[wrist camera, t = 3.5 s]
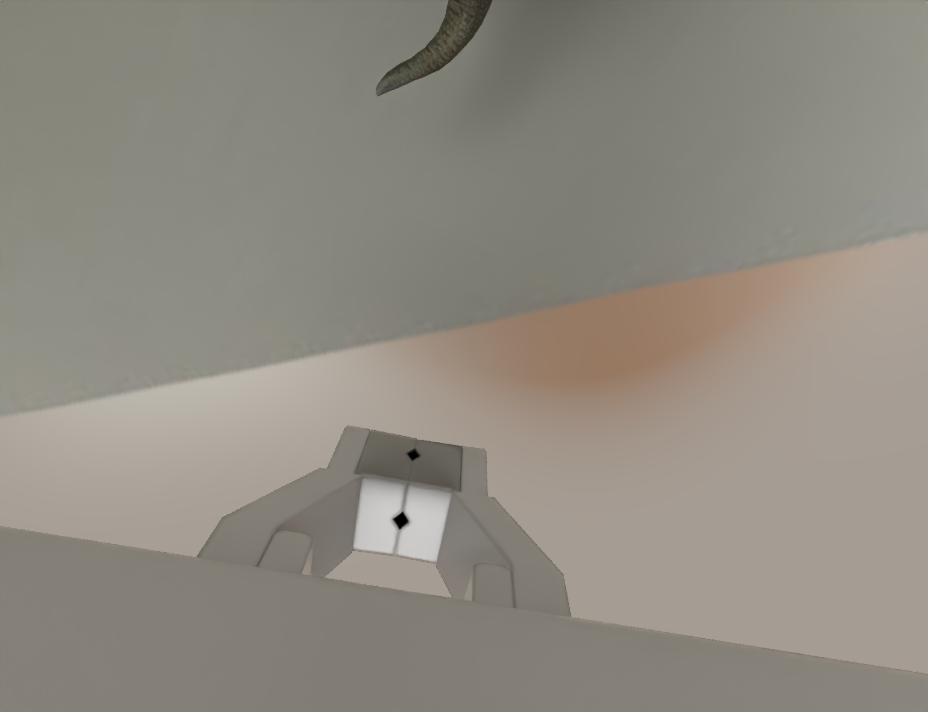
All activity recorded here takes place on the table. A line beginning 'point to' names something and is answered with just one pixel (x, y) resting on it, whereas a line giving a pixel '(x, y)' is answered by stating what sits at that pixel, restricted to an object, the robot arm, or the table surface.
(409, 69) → the toy dinosaur
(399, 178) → the table surface
